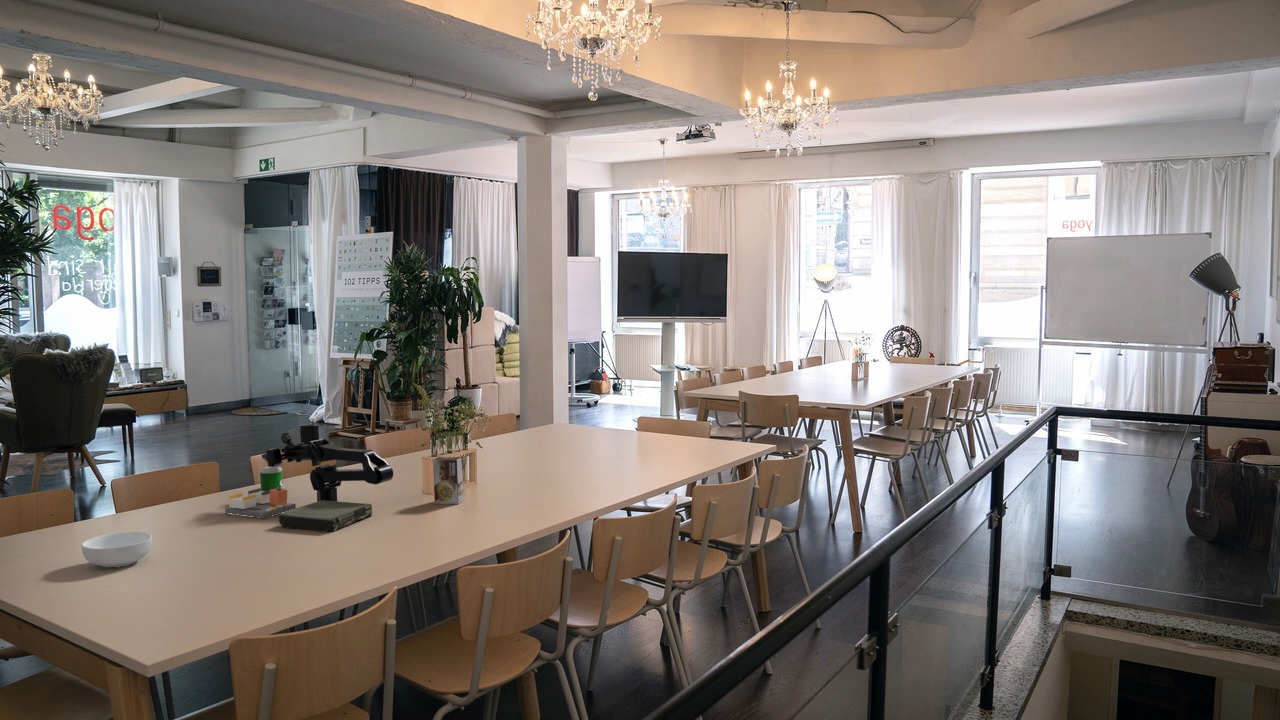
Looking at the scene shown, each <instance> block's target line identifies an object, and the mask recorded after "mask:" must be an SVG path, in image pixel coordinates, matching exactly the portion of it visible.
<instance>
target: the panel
mask: <svg viewBox="0 0 1280 720" xmlns="http://www.w3.org/2000/svg"><path fill="white" fill-rule="evenodd" d="M292 509H296V503H291V502H287V504H284V505H277V506H275V505H271V504H269V502H268V503H264V504H260V503H256V506H254V507H250V508H246V509H239V508H231V507H225V508H224V512H225V513H232V514H239V515H247V516H253V517H260V518H265V519H267V518H266V517H269V516H272V515H275V516H277V515H276V514H279V513H282V512H286V511H289V510H292ZM279 515H280V514H279ZM272 517H273V516H272ZM260 518H259V519H260ZM269 518H270V517H269Z"/></svg>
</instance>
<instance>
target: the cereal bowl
mask: <svg viewBox="0 0 1280 720" xmlns="http://www.w3.org/2000/svg"><path fill="white" fill-rule="evenodd" d="M152 546H153V535H152V534H151V533H149V532H145V531H121V532H112V533H108V534H103V535H99V536H95V537H92V538H89V539H87V540H85V541H83V542H82V545H81V549H82V550H81V553H82V555H83V557H84V559H85V560H86V561H87V562H88V563H90V564H93V565H96V566H102V567H103V568H105V567H118V568H121V567H120V566H123V567H127V566H130V565H132V564H131V563H133V564H134V563H135V562H136V561H138V560H141V559H142V558H144V557H145V556H147V555H148V554H149V553H150V551H151V549H152ZM129 564H130V565H129ZM126 565H127V566H126Z"/></svg>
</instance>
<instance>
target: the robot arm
mask: <svg viewBox="0 0 1280 720" xmlns="http://www.w3.org/2000/svg"><path fill="white" fill-rule="evenodd" d="M319 428H320V427H319V424H316V423H305V424H300V425H299V431H298V429H296V428H294V429H291V430H287V431H285V432H283V433H282V434H281V436H280V439H281V442H282V443H283V444H285V445H284V446H283V447H284V448H281V449H280V448H279V447H274V448H270V449H267V450H266V451H265V453H264V454H261V459H263V460H265V461H266V462H267V466H269V467H275V466H281V465H282V463H283V461H284V460H287V463H291V462H296V463H300V462H303V461H304V462H311V466H312V467H314V469H312V470H311V471H310V474H309V480H310V484H311V486H312V487H311V488H312V489H313V491H316V502H317V501H323V500H325V501H337V502H338V487H341V485H342V482H359V481H360V482H366V483H368V484H371V485H378V484H384V483H387V482H389V481H391V480H392V479H393V477H394V470H393V467H392V466H391V465H389V464H388V461H386V459H384V458H382V457H380V456H379V455H378V454H377V453H376V451H374V450H373V449H359V448H345V447H341V446H339V445H338V444H335V443H331V442H329V440H328V439H326V438H325V437H322V438H320V434H319ZM336 460H337V461H349V462H359V463H360V464H361V466H362V468H355V469H354V468H353V469H352V468H351V469H347V468H345V469H339V468H337V464H336V463H335V464H324V465H321V464H322V463H323V462H329V461H336ZM371 463H372V464H373V465H374V466H375V467H373V465H371ZM316 466H317V467H316Z"/></svg>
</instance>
